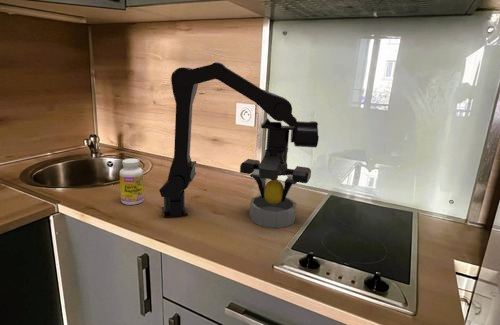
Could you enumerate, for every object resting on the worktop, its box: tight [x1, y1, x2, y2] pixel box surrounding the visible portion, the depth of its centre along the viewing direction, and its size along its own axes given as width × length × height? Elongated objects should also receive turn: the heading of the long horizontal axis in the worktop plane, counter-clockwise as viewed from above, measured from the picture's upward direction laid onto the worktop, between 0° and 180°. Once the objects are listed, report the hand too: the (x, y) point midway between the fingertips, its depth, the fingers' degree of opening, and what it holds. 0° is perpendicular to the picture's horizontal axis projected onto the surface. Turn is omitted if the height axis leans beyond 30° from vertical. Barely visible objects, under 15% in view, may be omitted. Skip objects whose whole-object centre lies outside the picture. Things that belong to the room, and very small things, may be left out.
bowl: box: [249, 194, 297, 229], centre depth 91 cm, size 13×13×4 cm
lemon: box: [264, 179, 284, 206], centre depth 90 cm, size 6×6×8 cm
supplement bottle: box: [119, 158, 145, 206], centre depth 96 cm, size 7×7×13 cm
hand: (273, 199), depth 90 cm, fingers closed on lemon, 5 cm apart
